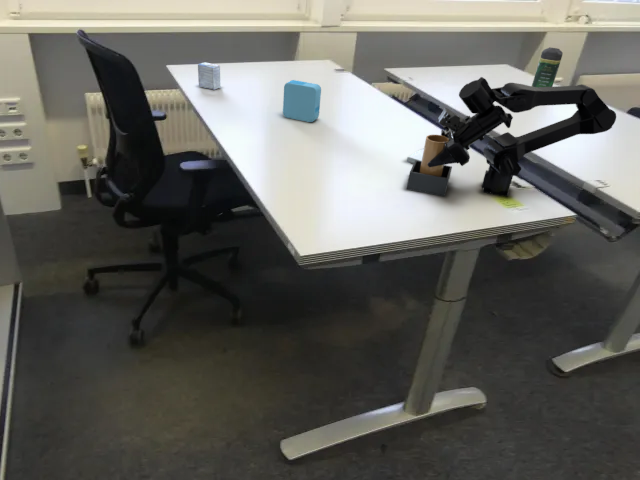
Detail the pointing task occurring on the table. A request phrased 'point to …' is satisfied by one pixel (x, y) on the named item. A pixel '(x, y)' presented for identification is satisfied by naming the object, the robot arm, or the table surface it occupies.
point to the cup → (432, 154)
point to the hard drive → (416, 156)
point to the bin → (428, 180)
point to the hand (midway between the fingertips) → (427, 161)
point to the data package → (301, 100)
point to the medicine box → (209, 75)
